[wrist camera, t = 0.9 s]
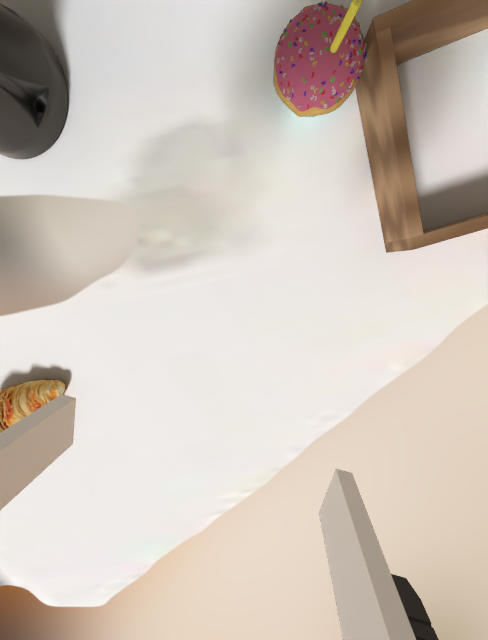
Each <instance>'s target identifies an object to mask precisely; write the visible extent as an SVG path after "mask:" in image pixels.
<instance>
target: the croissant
mask: <svg viewBox="0 0 488 640" xmlns="http://www.w3.org/2000/svg"><path fill="white" fill-rule="evenodd" d="M64 391H65V384H64V383H63V382H61V381H59V380H38V381H29V382H24V383H22V384H21V385H13V386H10V387H7V388H6V389H4V390H2V391H0V433H1V432H2V431H4V430H6V429H7V428H9V427H10V426H12V425H14V424H15V423H17V422H18V421H20V420H21V419H23V418H25V417H26V416H28V415H29V414H31V413H33V412H34V411H36V410H37V409H39V408H41V407H42V406H44V405H45V404H47V403H48V402H50V401H52V400H53V399H55V398H56V397H58V396H60V395H61V394H62V395H63V393H64Z"/></svg>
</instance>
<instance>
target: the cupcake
mask: <svg viewBox="0 0 488 640" xmlns="http://www.w3.org/2000/svg"><path fill="white" fill-rule="evenodd" d="M361 3H362V0H353V1H352V3H351V5H350V7H349V9H348V10H347V8H344V7H343V5H341V7H340V6H337V5H333V4H328V3H327V2H326V1H325V3H324V4H322V2H321V3H319V4H317V5H312V6H307V7H305V8H304V9H303V10H301V12H300V13H299V14H298V15H297V16H296V17H294V18H293V19H291V20H290V22H289V24H288V25H287V27H286V29H284V31H283V34H282V35H281V37H280V40H279V42H278V45H277V48H276V52H275V59H274V86H275V89H276V92H277V94H278V95H279V97H280V98H281V100H282V101H283V102H284V103H285V104H286V106H287V107H288V108H290V109H291V110H292V111H293V112H294V113H295V114H296V115H297V116H300V117H314V116H317V115H323V114H327V113H330V112H332V111H334V110H336V109H337V108H338V107H340V106H341V105H342V104H343V103H344V101H345V100H346V99H347V98H348V97H349V96H350V95H351V93H352V92H353V90H354V88H355V86H356V84H357V82H358V80H359V79H360V75H361V73H362V70H363V68H364V65H365V63H366V61H367V58H365V56H366V54H367V52H366V49H365V48H366V43H365V42H364V39H363V34H362V33H361V30H360V28H359V26H360V23H359V22H357V21H356V20H355V15H356V13H357V11H358V9H359V7H360V5H361ZM356 22H357V23H356ZM358 24H359V25H358Z"/></svg>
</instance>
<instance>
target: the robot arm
mask: <svg viewBox="0 0 488 640" xmlns="http://www.w3.org/2000/svg"><path fill="white" fill-rule="evenodd" d="M67 101H68V98H67V87H66V81H65V77H64V73H63V70H62V67H61V65H60V62H59V60H58V58H57V56H56V55H55V53H54V51H53V50H52V48H51V47H50V45H49V44H48V43H47V41H46V40H45V39H44V38H43V37H42V36H41V35H40V34H39V33H38V32H37V31H36V30H35V29H34V28H33V27H32V26H31V25H30V24H29V23H28V22H27V21H26V20H25V19H23V18H22V17H21V16H20V15H18V14H17V13H16V12H14V11H13V10H11V9H9V8H8V7H5V6H3V5H2V4H0V154H1V155H4V156H7V157H10V158H14V159H29V158H33V157H36V156H38V155H40V154H42V153H44V152H45V151H46V150H48V149H49V148H50V147H51V146H52V145H53V144H54V142H55V141H56V140H57V138H58V136H59V135H60V133H61V130H62V128H63V125H64V122H65V118H66V113H67ZM75 403H76V398H73V397H70V396H66V395H62V394H61V395H60V396H58V397H56V398H55V399H53V400H52V401H50V402H48V403H47V404H45V405H44V406H42V407H41V408H39V409H37V410H36V411H34V412H33V413H31V414H29V415H28V416H26V417H25V418H23V419H21V420H20V421H18V422H17V423H15V424H14V425H12V426H10V427H9V428H7V429H6V430H4V431H2V432H1V433H0V510H1V509H2V508H3V507H4V506H5V505H7V504H8V503H9V502H10V501H11V500H12V499H13V498H14V497H15V496H16V495H17V494H19V493H20V492H21V491H22V490H23V489H24V488H25V487H26V486H27V485H28V484H29V483H31V482H32V481H33V480H34V479H35V478H36V477H37V476H38V475H39V474H40V473H42V472H43V471H44V470H45V469H46V468H47V467H48V466H49V465H50V464H51V463H52V462H54V461H55V460H56V459H57V458H58V457H59V456H60V455H61V454H62V453H63V452H64V451H66V450H67V449H68V448H69V447H70V446H71V445H72V444H73V434H74V418H75ZM319 516H320V522H321V527H322V532H323V537H324V542H325V547H326V553H327V558H328V563H329V568H330V573H331V579H332V584H333V589H334V595H335V600H336V605H337V610H338V615H339V621H340V626H341V631H342V636H343V640H438V638H437V635H436V633H435V631H434V629H433V628H432V627H431V622H430V619H429V617H428V615H427V613H426V610H425V608H424V606H423V604H422V601H421V599H420V598H419V596H418V595H417V593H416V592H415V591H414V589H413V588H412V586H411V585H410V583H409V582H408V580H407V579H406V578H403V577H400V576H396V575H392V574H391V573H390V571H389V568H388V565H387V563H386V560H385V558H384V555H383V552H382V550H381V547H380V545H379V542H378V540H377V537H376V534H375V532H374V529H373V526H372V524H371V521H370V519H369V516H368V513H367V511H366V508H365V506H364V503H363V500H362V498H361V495H360V493H359V490H358V487H357V485H356V482H355V480H354V477H353V474H352V473H350V472H346V471H342V470H339V469H336V470H335V473H334V475H333V478H332V481H331V483H330V486H329V488H328V491H327V493H326V496H325V499H324V501H323V504H322V506H321V509H320V511H319Z"/></svg>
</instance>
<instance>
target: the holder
mask: <svg viewBox="0 0 488 640" xmlns="http://www.w3.org/2000/svg"><path fill="white" fill-rule="evenodd" d="M487 28H488V0H413V1H411V2H408V3H406V4H404V5H401V6H399V7H397V8H395V9H392V10H390V11H388V12H386V13H383V14H381V15H379V16H376V17H374V18H373V20H372V23H371V25H370V27H369V30H368V32H367V35H366V37H365V40H364V42H365V43H366V48H365V49H366V52H367V54H366V56H365V58H367V61H366V63H365V65H364V68H363V70H362V73H361V75H360V79H359V80H358V82H357V84H356V86H355V88H356V94H357V99H358V104H359V110H360V115H361V120H362V126H363V131H364V136H365V142H366V147H367V152H368V157H369V163H370V168H371V173H372V179H373V184H374V189H375V195H376V200H377V205H378V211H379V216H380V221H381V227H382V232H383V237H384V243H385V248H386V253H387V252H396V251H406V250H413V249H417V248H420V247H424V246H427V245H431V244H434V243H438V242H441V241H445V240H448V239H452V238H455V237H459V236H462V235H466V234H469V233H473V232H476V231H480V230H483V229H487V228H488V213H484V214H481V215H478V216H474V217H471V218H467V219H464V220H461V221H457V222H454V223H450V224H447V225H444V226H440V227H437V228H434V229H430V230H427V231H423V229H422V222H421V216H420V210H419V204H418V197H417V191H416V185H415V178H414V172H413V166H412V160H411V153H410V147H409V141H408V135H407V128H406V122H405V116H404V110H403V103H402V97H401V91H400V84H399V78H398V72H397V66H396V65H398V64H400V63H403V62H405V61H407V60H410V59H412V58H415V57H417V56H420V55H422V54H425V53H427V52H430V51H432V50H435V49H437V48H440V47H442V46H445V45H447V44H449V43H452V42H454V41H457V40H459V39H462V38H464V37H467V36H469V35H472V34H474V33H477V32H479V31H482V30H484V29H487Z"/></svg>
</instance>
